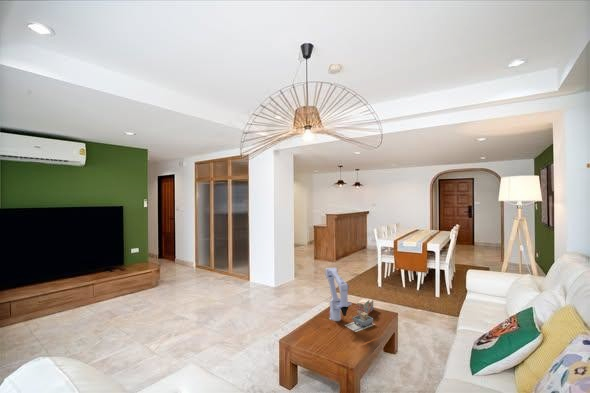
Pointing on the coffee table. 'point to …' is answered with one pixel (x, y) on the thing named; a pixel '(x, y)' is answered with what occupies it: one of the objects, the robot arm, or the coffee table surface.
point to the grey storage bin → (357, 319)
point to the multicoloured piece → (364, 306)
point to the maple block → (363, 316)
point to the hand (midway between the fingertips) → (344, 315)
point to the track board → (358, 326)
